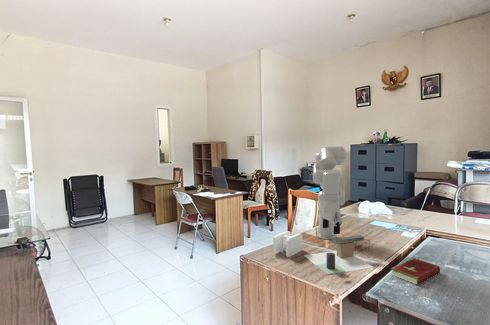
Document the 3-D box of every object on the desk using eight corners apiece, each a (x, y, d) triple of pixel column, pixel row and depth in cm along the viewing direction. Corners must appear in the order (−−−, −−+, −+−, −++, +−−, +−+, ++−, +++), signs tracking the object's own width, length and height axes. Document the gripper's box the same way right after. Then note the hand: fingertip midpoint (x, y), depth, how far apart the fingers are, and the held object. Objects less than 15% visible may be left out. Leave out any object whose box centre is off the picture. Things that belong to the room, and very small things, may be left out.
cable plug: (325, 266, 136) (325, 253, 135) (332, 265, 136) (332, 252, 136) (329, 270, 132) (329, 256, 131) (336, 269, 133) (336, 255, 132)
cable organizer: (287, 260, 149) (287, 239, 148) (272, 255, 156) (272, 235, 155) (302, 252, 159) (302, 233, 158) (288, 248, 167) (288, 229, 166)
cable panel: (303, 257, 151) (303, 241, 151) (344, 252, 158) (344, 236, 157) (327, 277, 128) (327, 258, 128) (373, 270, 135) (373, 252, 134)
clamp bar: (332, 242, 148) (332, 238, 148) (360, 238, 153) (360, 235, 153) (335, 244, 145) (335, 240, 145) (364, 240, 150) (364, 236, 150)
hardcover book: (440, 274, 130) (440, 265, 130) (417, 287, 119) (417, 277, 119) (413, 265, 140) (413, 257, 140) (390, 276, 129) (391, 267, 129)
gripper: (315, 194, 140) (315, 226, 142) (334, 200, 124) (334, 237, 125) (328, 193, 142) (328, 225, 144) (348, 199, 126) (348, 235, 127)
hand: (331, 230), depth 134 cm, fingers open, 9 cm apart
